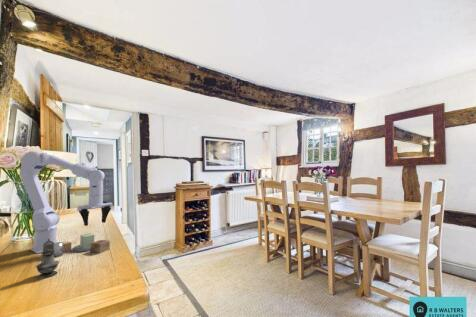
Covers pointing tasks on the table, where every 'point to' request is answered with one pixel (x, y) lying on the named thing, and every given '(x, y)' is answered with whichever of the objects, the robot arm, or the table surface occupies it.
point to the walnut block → (100, 246)
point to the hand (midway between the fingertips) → (95, 223)
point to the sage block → (86, 240)
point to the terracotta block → (66, 246)
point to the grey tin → (58, 249)
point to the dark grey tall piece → (47, 261)
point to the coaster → (81, 249)
